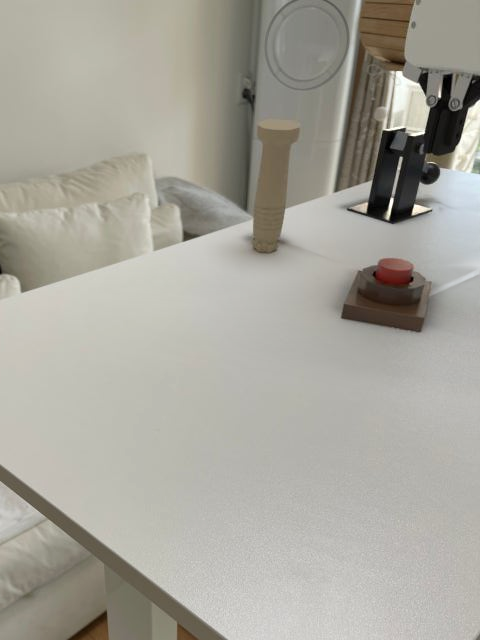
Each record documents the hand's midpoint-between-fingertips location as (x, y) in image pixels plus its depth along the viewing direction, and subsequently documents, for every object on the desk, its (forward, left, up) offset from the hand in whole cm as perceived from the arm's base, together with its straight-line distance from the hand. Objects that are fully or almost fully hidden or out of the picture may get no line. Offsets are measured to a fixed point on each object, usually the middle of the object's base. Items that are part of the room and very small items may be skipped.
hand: (438, 152), depth 63 cm
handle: (+10, -17, -16) cm, 25 cm away
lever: (-16, -29, -9) cm, 35 cm away
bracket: (-13, -28, -16) cm, 34 cm away
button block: (+3, +1, -16) cm, 16 cm away
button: (+3, +1, -12) cm, 13 cm away
